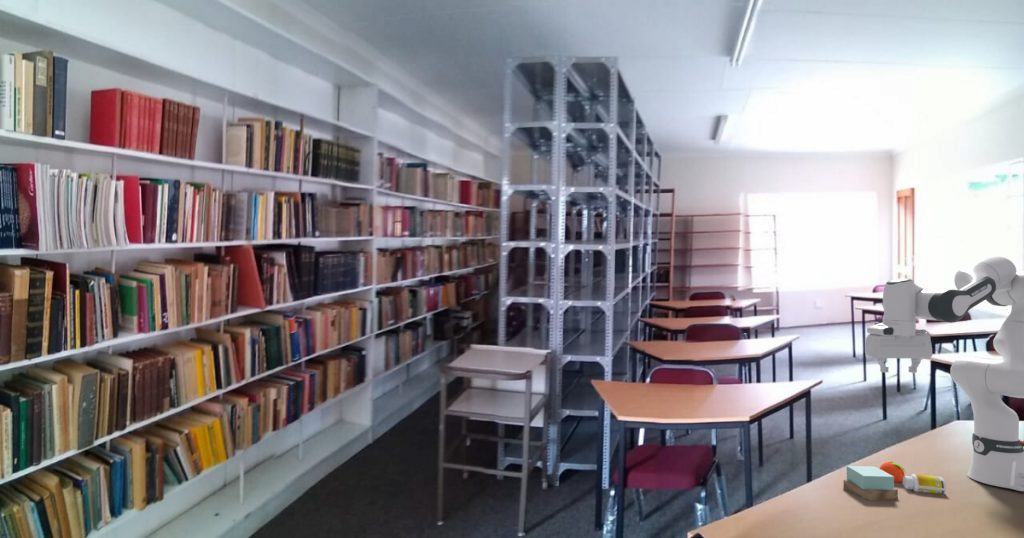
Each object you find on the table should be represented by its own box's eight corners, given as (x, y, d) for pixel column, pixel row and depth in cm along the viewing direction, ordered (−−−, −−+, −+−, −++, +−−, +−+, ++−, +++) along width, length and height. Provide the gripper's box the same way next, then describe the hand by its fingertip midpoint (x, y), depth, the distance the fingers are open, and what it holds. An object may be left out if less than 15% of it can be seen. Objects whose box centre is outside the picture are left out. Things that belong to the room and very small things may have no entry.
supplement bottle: (939, 473, 179) (902, 470, 182) (947, 482, 174) (909, 478, 176) (938, 490, 179) (901, 486, 182) (946, 499, 174) (907, 495, 177)
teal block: (875, 479, 180) (875, 466, 180) (893, 490, 171) (894, 476, 171) (846, 478, 180) (846, 465, 180) (863, 489, 171) (863, 475, 171)
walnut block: (869, 490, 181) (869, 477, 181) (897, 502, 171) (897, 489, 171) (843, 492, 179) (843, 479, 179) (870, 505, 169) (870, 491, 169)
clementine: (912, 486, 183) (912, 464, 184) (900, 489, 180) (899, 467, 181) (887, 478, 191) (887, 457, 191) (874, 481, 188) (874, 460, 188)
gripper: (922, 328, 186) (922, 370, 186) (862, 327, 185) (861, 370, 185) (937, 330, 180) (937, 374, 180) (875, 329, 179) (875, 373, 178)
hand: (898, 372), depth 182 cm, fingers open, 8 cm apart
